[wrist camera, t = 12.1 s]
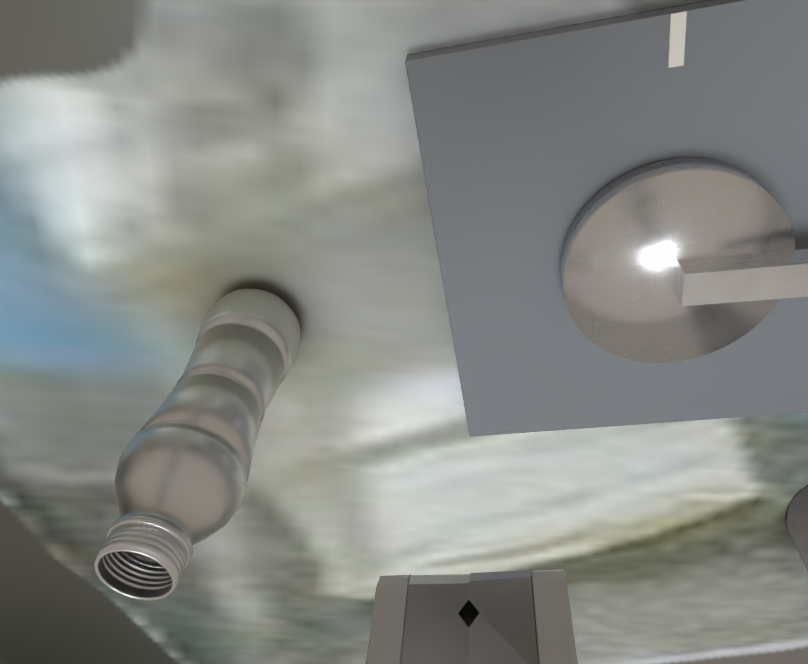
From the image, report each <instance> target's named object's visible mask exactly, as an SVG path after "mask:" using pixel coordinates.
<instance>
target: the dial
mask: <svg viewBox="0 0 808 664" xmlns="http://www.w3.org/2000/svg"><path fill="white" fill-rule="evenodd" d="M560 274H561V282H562V286H563V290H564V295H565V299H566V303H567V307H568V310H569V312H570V314H571V317H572V319H573V321H574V322H575V324H576V325H577V327H578V328H579V329H580V331H581V332H582V333H583V334H584V335H585V336H586V337H587V338H588V339H589V340H590V341H592V342H593V343H594V344H595V345H597V346H598V347H600V348H602V349H603V350H605V351H607V352H609V353H611V354H614V355H616V356H619V357H622V358H625V359H629V360H634V361H639V362H649V363H669V362H678V361H684V360H689V359H693V358H697V357H700V356H704V355H707V354H710V353H712V352H714V351H717V350H719V349H722V348H723V347H725V346H727V345H729V344H731V343H733V342H735V341H736V340H738V339H739V338H741V337H742V336H744V335H745V334H747V333H748V332H749V331H751V330H752V329H753V328H754V327H755V326H757V325H758V324H759V323H760V322H761V321H762V320H763V319H764V318H765V317H766V316H767V315H768V314H769V312H770V311H771V310H772V309H773V307H774V306H775V305H776V304H777V302H778V301H779V299H783V298H796V297H808V249H802V250H795V239H794V234H793V230H792V227H791V224H790V222H789V219H788V217H787V215H786V213H785V212H784V210H783V209H782V207H781V206H780V204H779V203H778V202H777V201H776V200H775V199H774V198H773V197H772V196H771V195H770V194H769V193H768V192H767V191H766V190H765V189H764V188H763V187H762V186H761V185H760V184H759V183H758V182H757V181H756V180H755V179H754V178H752V177H751V176H750V175H749V174H747V173H746V172H744V171H742V170H740V169H738V168H736V167H735V166H732V165H729V164H726V163H724V162H721V161H716V160H711V159H706V158H692V157H690V158H674V159H668V160H663V161H658V162H655V163H651V164H648V165H644V166H642V167H640V168H637V169H635V170H632V171H630V172H628V173H626V174H624V175H623V176H621V177H619V178H617V179H615V180H614V181H613V182H611V183H610V184H608V185H607V186H606V187H604V188H603V189H602V190H600V191H599V192H598V193H597V194H596V195H595V196H594V197H593V198H592V199H591V200H590V201H589V202H588V203H587V204H586V205H585V206H584V208H583V209H582V210H581V211H580V213H579V214H578V216H577V217H576V219H575V220H574V222H573V223H572V225H571V227H570V229H569V231H568V233H567V236H566V239H565V241H564V244H563V249H562V253H561V261H560Z"/></svg>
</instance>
